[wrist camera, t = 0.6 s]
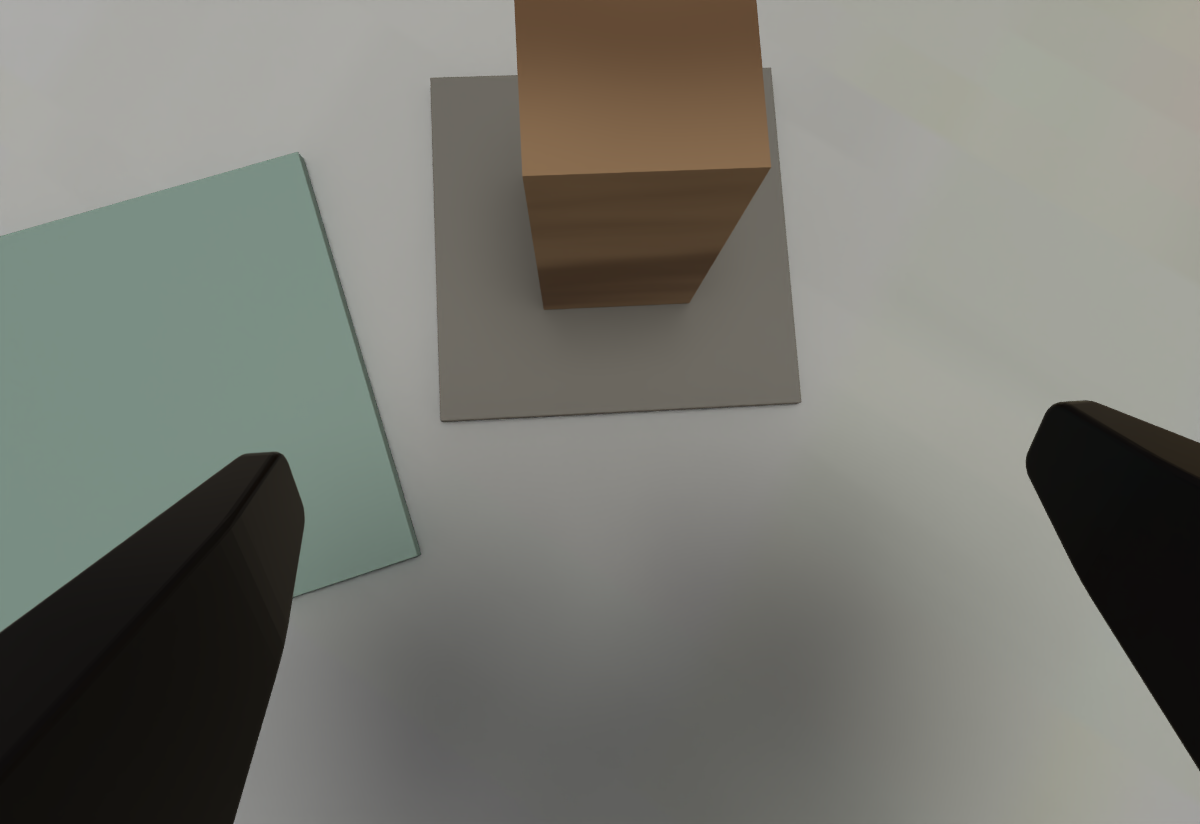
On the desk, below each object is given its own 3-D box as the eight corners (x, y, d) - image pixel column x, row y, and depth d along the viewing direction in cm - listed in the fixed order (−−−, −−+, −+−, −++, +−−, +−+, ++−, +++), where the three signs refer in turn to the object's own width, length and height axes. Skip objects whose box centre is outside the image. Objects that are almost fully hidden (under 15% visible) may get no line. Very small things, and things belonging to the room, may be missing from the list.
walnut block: (689, 303, 22) (771, 167, 13) (543, 309, 21) (522, 176, 12) (679, 165, 22) (750, -60, 13) (537, 170, 22) (512, -55, 13)
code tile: (797, 403, 22) (802, 401, 21) (443, 421, 21) (440, 420, 21) (767, 75, 23) (771, 66, 23) (432, 85, 23) (429, 76, 22)
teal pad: (420, 554, 21) (417, 555, 20) (-21, 700, 20) (-36, 706, 19) (303, 159, 22) (297, 151, 22) (-115, 279, 21) (-132, 273, 21)
